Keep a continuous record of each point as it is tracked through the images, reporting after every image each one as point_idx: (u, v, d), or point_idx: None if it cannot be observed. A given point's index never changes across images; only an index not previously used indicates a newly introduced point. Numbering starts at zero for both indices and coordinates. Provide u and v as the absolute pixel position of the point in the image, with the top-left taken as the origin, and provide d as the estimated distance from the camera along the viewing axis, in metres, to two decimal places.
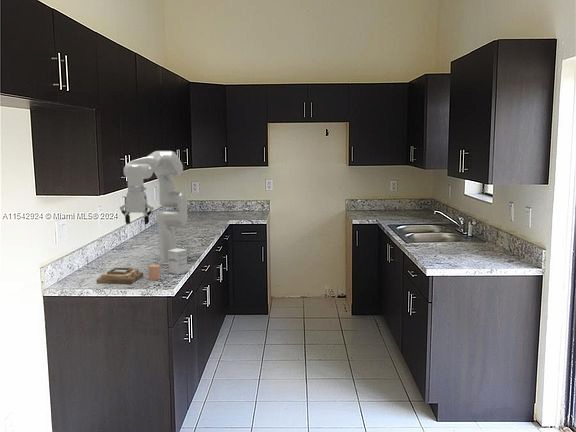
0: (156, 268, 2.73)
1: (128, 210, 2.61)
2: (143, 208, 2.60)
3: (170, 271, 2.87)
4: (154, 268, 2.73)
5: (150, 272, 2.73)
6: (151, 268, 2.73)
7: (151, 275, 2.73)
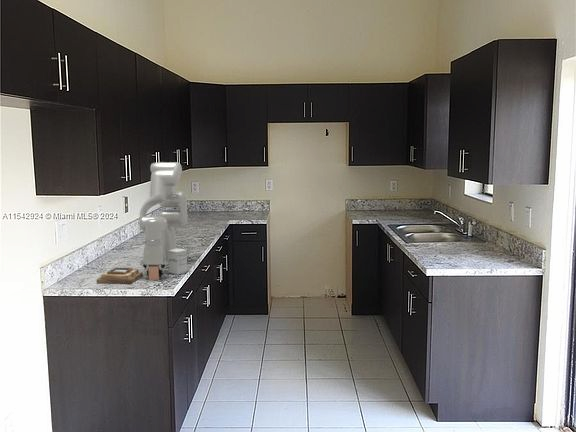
0: (156, 268, 2.73)
1: None
2: None
3: (170, 271, 2.87)
4: (154, 268, 2.73)
5: (150, 272, 2.73)
6: (151, 268, 2.73)
7: (151, 275, 2.73)
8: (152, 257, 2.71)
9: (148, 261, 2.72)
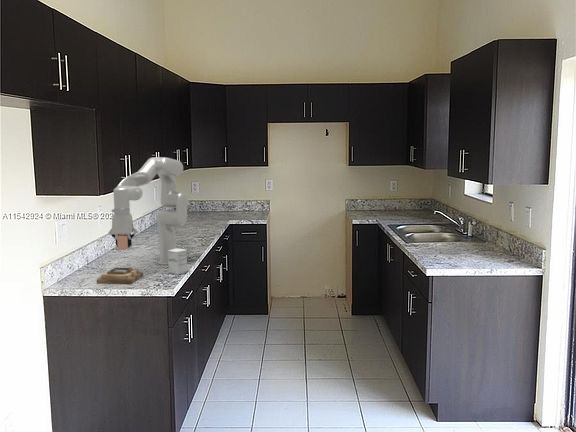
0: (125, 237, 2.69)
1: None
2: None
3: (170, 271, 2.87)
4: (123, 237, 2.69)
5: (119, 241, 2.69)
6: (120, 237, 2.68)
7: (120, 244, 2.69)
8: (121, 226, 2.67)
9: (117, 230, 2.68)
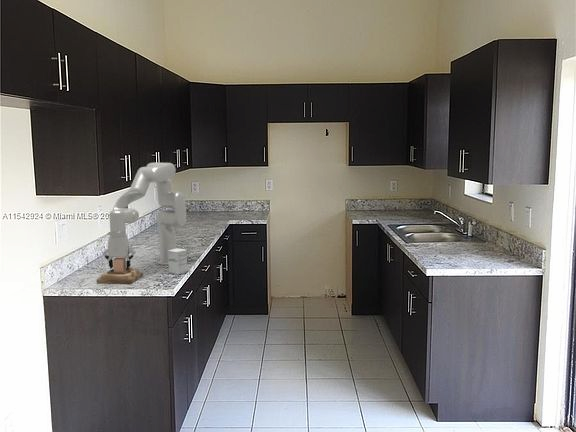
0: (121, 261, 2.70)
1: None
2: None
3: (170, 271, 2.87)
4: (119, 261, 2.70)
5: (115, 265, 2.70)
6: (116, 261, 2.70)
7: (116, 268, 2.71)
8: (116, 248, 2.69)
9: (113, 253, 2.69)
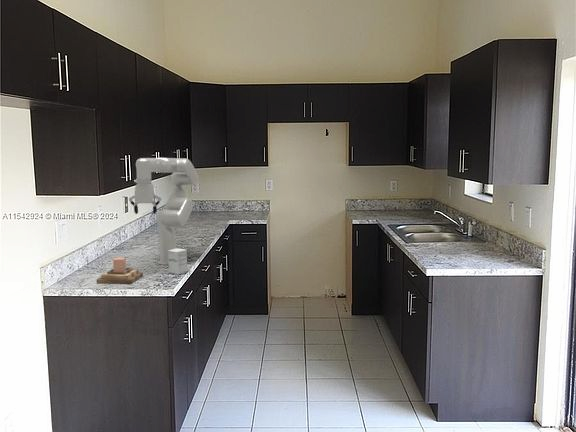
0: (121, 261, 2.70)
1: None
2: None
3: (170, 271, 2.87)
4: (119, 261, 2.70)
5: (115, 265, 2.70)
6: (116, 261, 2.70)
7: (116, 268, 2.71)
8: (143, 195, 2.82)
9: (139, 199, 2.82)
